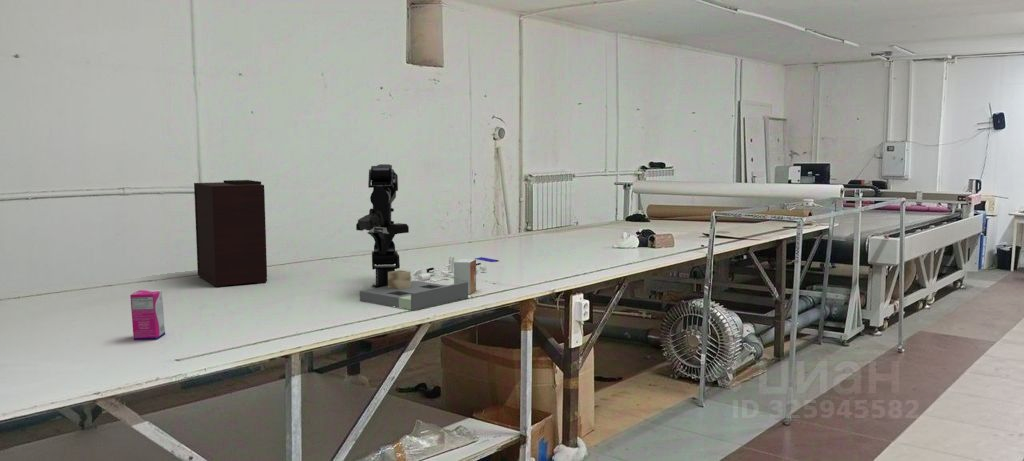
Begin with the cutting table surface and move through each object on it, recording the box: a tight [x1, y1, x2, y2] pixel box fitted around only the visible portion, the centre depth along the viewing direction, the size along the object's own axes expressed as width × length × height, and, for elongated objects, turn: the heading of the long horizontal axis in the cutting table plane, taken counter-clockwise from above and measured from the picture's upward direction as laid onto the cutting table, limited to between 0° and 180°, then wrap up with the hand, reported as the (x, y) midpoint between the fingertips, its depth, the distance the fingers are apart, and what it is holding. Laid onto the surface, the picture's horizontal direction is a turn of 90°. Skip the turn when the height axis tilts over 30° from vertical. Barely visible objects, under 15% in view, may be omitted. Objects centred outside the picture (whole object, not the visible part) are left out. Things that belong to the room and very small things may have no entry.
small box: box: [453, 258, 477, 295], centre depth 251 cm, size 8×6×10 cm
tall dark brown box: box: [193, 179, 268, 288], centre depth 272 cm, size 19×27×35 cm
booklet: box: [474, 256, 500, 263], centre depth 317 cm, size 12×25×1 cm, turn 130°
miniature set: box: [412, 256, 487, 283], centre depth 283 cm, size 6×35×12 cm
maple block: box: [388, 269, 412, 289], centre depth 242 cm, size 5×5×5 cm
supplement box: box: [129, 289, 166, 341], centre depth 190 cm, size 6×6×12 cm
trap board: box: [359, 280, 469, 311], centre depth 239 cm, size 23×24×5 cm
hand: (382, 254), depth 246 cm, fingers closed
